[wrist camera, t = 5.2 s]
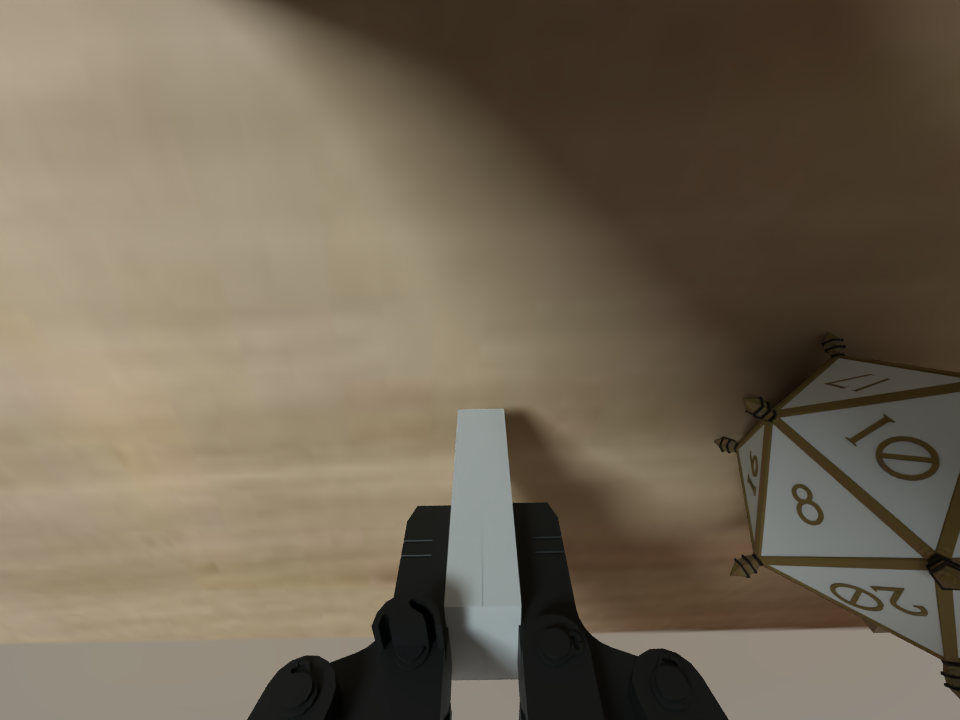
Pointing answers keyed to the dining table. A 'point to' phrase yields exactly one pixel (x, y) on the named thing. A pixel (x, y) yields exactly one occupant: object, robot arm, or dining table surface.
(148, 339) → the dining table surface
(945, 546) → the game die
